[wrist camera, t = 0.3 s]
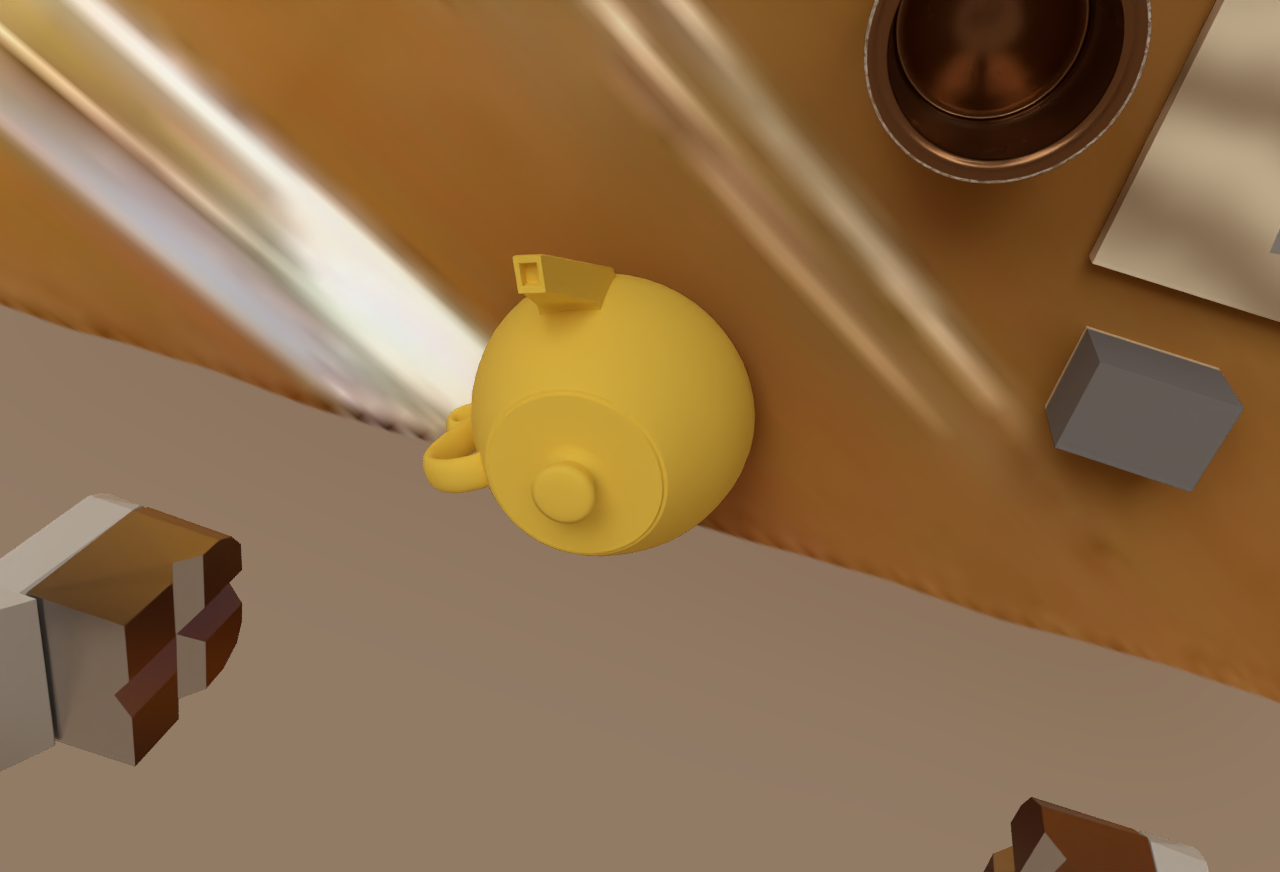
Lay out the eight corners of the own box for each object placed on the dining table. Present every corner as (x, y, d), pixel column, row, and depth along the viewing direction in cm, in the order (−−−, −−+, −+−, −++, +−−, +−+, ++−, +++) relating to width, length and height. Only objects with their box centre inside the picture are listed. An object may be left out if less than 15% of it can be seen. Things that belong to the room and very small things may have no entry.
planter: (1139, -108, 45) (1188, -108, 36) (1086, 145, 50) (1119, 195, 41) (885, -109, 47) (877, -110, 39) (859, 133, 52) (847, 178, 44)
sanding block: (1085, 325, 54) (1100, 362, 49) (1217, 366, 53) (1244, 408, 49) (1044, 405, 56) (1054, 447, 52) (1170, 446, 56) (1191, 492, 51)
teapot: (776, 503, 63) (746, 631, 52) (498, 513, 69) (418, 630, 58) (730, 182, 55) (682, 254, 44) (417, 223, 60) (305, 296, 49)
